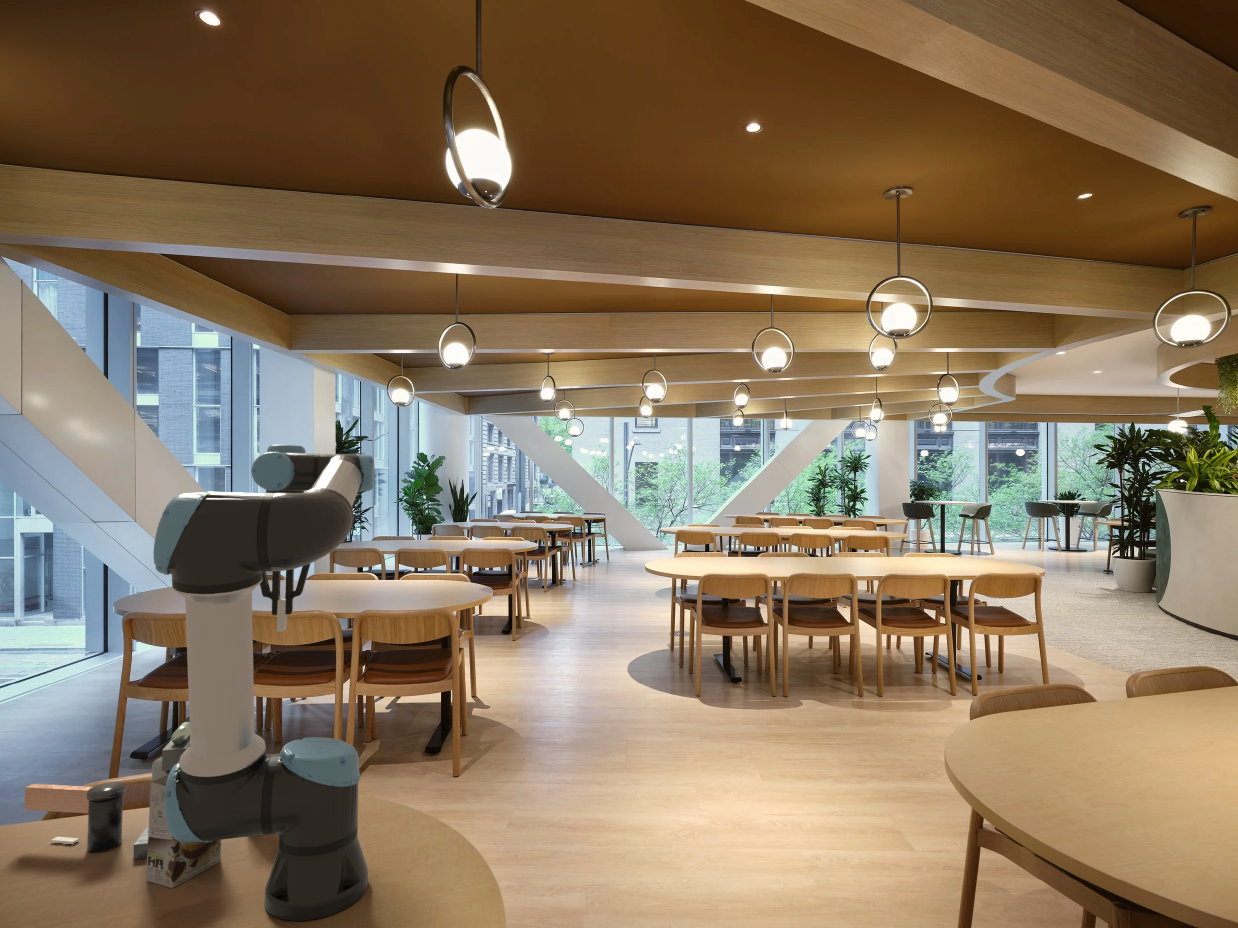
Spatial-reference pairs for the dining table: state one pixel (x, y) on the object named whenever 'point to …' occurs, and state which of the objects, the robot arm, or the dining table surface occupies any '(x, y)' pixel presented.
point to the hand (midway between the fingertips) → (281, 630)
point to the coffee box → (173, 846)
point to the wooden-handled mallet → (84, 808)
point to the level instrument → (165, 774)
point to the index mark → (65, 840)
